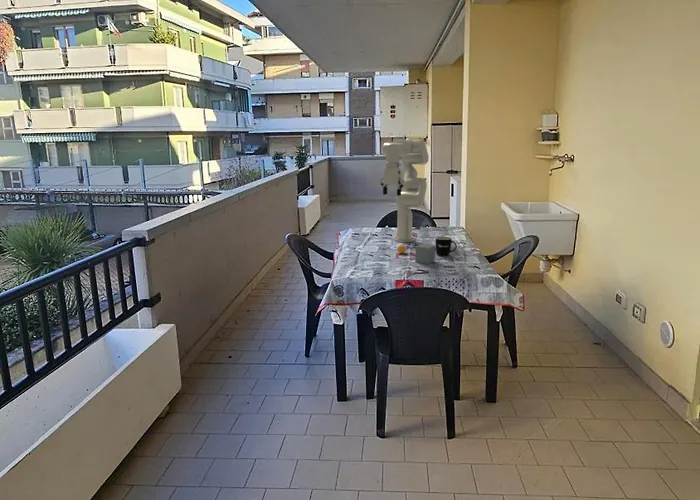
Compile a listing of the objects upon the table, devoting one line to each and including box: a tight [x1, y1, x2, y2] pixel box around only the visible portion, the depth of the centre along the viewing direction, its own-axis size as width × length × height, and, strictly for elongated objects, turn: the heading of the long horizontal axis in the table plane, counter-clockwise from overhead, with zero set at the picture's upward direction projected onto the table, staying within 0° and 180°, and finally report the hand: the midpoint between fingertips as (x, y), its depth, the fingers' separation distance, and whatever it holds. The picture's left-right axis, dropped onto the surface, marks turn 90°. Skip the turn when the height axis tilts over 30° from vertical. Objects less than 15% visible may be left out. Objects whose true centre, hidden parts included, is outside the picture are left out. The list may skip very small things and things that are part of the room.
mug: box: [435, 235, 458, 257], centre depth 286 cm, size 12×9×10 cm
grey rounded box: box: [414, 243, 436, 265], centre depth 274 cm, size 8×8×9 cm
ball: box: [396, 244, 407, 254], centre depth 292 cm, size 5×5×5 cm
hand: (392, 195), depth 292 cm, fingers open, 9 cm apart
